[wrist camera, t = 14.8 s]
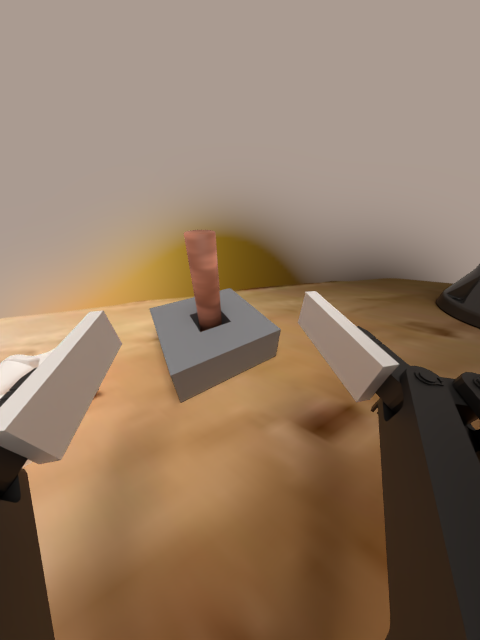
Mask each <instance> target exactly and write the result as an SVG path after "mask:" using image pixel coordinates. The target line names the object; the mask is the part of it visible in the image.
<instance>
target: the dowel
mask: <svg viewBox="0 0 480 640" xmlns="http://www.w3.org/2000/svg"><path fill="white" fill-rule="evenodd" d="M184 237H185V243H186V249H187V255H188V260H189V266H190V272H191V278H192V284H193V290H194V296H195V302H196V308H197V314H198V319H199V325H200V331H201V332H202V331H205V330H208V329H211V328H214V327H217V326H220V325H222V318H221V305H220V291H219V277H218V264H217V249H216V237H215V232H214V231H211V230H193V231H187V232H184Z"/></svg>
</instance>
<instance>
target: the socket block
mask: <svg viewBox="0 0 480 640" xmlns="http://www.w3.org/2000/svg"><path fill="white" fill-rule="evenodd" d="M220 305H221V318H222V325H220V326H217V327H214V328H211V329H208V330H205V331H202V332H201V331H200V325H199V319H198V314H197V308H196V302H195V297H194V298H190V299H186V300H182V301H178V302H174V303H170V304H166V305H162V306H158V307H154V308H150V312H151V315H152V318H153V321H154V325H155V328H156V331H157V334H158V337H159V341H160V344H161V347H162V350H163V353H164V357H165V360H166V363H167V366H168V369H169V373H170V376H171V378H172V381H173V384H174V386H175V389H176V392H177V394H178V397H179V400H180V402H183V401H185V400H187V399H189V398H191V397H193V396H195V395H197V394H199V393H201V392H203V391H205V390H207V389H209V388H211V387H213V386H215V385H217V384H219V383H222V382H224V381H226V380H228V379H230V378H232V377H234V376H236V375H238V374H240V373H242V372H244V371H246V370H248V369H250V368H252V367H254V366H256V365H258V364H260V363H262V362H264V361H266V360H268V359H270V358H272V357H274V356H276V352H277V347H278V341H279V336H280V330H281V329H280V328H278V327H277V326H276V325H275V324H273V323H272V322H271V321H270V320H268V319H267V318H266V317H265V316H264V315H262V314H261V313H260V312H259V311H257V310H256V309H255V308H254V307H253V306H251V305H250V304H249V303H248V302H246V301H245V300H244V299H243V298H242V297H240V296H239V295H238V294H237V293H235V292H234V291H233V290H232V289H225V290H221V291H220Z"/></svg>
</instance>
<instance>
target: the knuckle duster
mask: <svg viewBox="0 0 480 640" xmlns="http://www.w3.org/2000/svg"><path fill="white" fill-rule="evenodd" d="M54 349H55V348H54ZM54 349H53V350H54ZM53 350H51V351H49V352H47V353H43V354H40V355H36V356H27V355H13V356H9V357H8V358H6V359H5V360H3V361H2V362H1V364H0V399H1V398H2V397H3V396H4V394H5V393H6V392H9V391H10V390H9V389H10V388H11V387H12V386H13V385H14V384H15V383H16V382H17V381H18V380H19V379H20V378H21V377H23V376H24V375H26V374H27V373H28V372H30V371H31V370H33V369H34V368H37V367H38V366H39V365H40V364H41V363H42V362H43V361H44V360H45V359H46V358H47V357H48V356H49V355H50V354H51V352H52V351H53ZM98 390H99V389H98ZM32 462H33V461H30V460H27V461H26V463H25V464H24V466H23V467H25V466H27V465H28V464H30V463H32ZM23 467H22V468H23Z"/></svg>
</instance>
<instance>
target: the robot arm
mask: <svg viewBox="0 0 480 640" xmlns="http://www.w3.org/2000/svg"><path fill="white" fill-rule="evenodd" d="M436 303H437V305H438V306H439V307H440V308H441V309H442V310H444V311H445V312H447V313H448V314H450V315H452V316H454V317H456V318H458V319H460V320H462V321H464V322H466V323H469V324H471V325H474V326H476V327H479V328H480V264H479V265H478V266H477V268H476V269H474V270H473V271H472V272H470V273H469V274H467V275H466V276H465V277H463V278H461V279H460V280H459V281H457V282H456V283H454V284H453V285H451V286H450V287H449V288H447V289H446V290H444V291H443V292H442V294H441V295H440V296H439V297H438V299H437V300H436ZM298 324H299V325H300V326H301V328H302V329H303V330H304V332H305V333H306V334H307V336H308V337H309V339H310V340H311V341H312V343H313V344H314V345H315V347H316V348H317V349H318V351H319V352H320V353H321V355H322V356H323V357H324V359H325V360H326V362H327V363H328V364H329V366H330V367H331V368H332V370H333V371H334V372H335V374H336V375H337V376H338V378H339V379H340V381H341V382H342V383H343V385H344V386H345V387H346V389H347V390H348V391H349V393H350V394H351V395H352V397H353V398H354V400H355V401H356V402H360V401H365V400H370V399H371V398H372V396H373V395H374V394H375V393H376V394H377V395H378V396H379V397H380V399H379V400H378V401H377V402H376V403H375V404H374V405H373V406H372V408H371V411H372V412H374V411H375V410H376V409H377V407H378V412H377V414H378V416H379V433H380V450H381V466H382V483H383V500H384V517H385V533H386V550H387V567H388V583H389V600H390V630H389V633H388V635H387V637H386V639H385V640H480V429H479V430H476V429H474V428H473V427H472V425H471V424H470V423H471V422H473V421H475V420H477V419H478V418H479V419H480V374H476V373H471V372H465V373H463V374H461V375H460V376H459V377H458V378H456V379H450V378H443V377H439V376H438V375H437V374H435V373H433V372H432V371H430V370H427V369H425V368H423V367H418V366H409V365H408V364H407V363H406V362H404V361H403V360H402V359H401V358H400V357H398V356H397V355H396V354H395V353H394V352H392V351H391V350H390V349H389V348H388V347H386V346H385V345H384V344H382V342H380V341H379V340H378V339H376V337H374V336H373V335H372V334H371V333H370V332H368V331H367V330H365V329H363V328H361V327H359V326H355V325H354V324H353V323H352V322H350V321H349V320H348V319H347V318H346V317H345V316H344V315H342V314H341V313H340V312H339V311H338V310H337V309H335V308H334V307H333V306H332V305H331V304H330V303H329V302H327V301H326V300H325V299H324V298H323V297H322V296H321V295H319V294H318V293H317V292H316V291H312V292H306V293H305V297H304V301H303V305H302V309H301V313H300V317H299V321H298ZM121 345H122V343H121V341H120V339H119V337H118V335H117V334H116V332H115V330H114V328H113V327H112V325H111V323H110V321H109V320H108V318H107V316H106V314H105V313H104V311H94V312H89V313H88V314H87V315H86V316H85V317H84V318H83V319H82V320H81V321H80V323H79V324H78V325H77V326H76V327H75V328H74V329H73V330H72V331H71V332H70V333H69V334H68V335H67V336H66V337H65V339H64V340H63V341H62V342H61V343H60V344H59V345H58V346H57V347H56V348H55V349H54V350H53V351H52V352H51V354H50V355H49V356H48V357H47V358H46V359H45V360H44V361H43V362H42V363H41V364H40V365H39V366H38V367H37V368H34V369H33V370H31V371H30V372H28V373H27V374H26V375H24V376H23V377H21V378H20V379H19V380H18V381H17V382H16V383H15V384H14V385H13V386H12V387H11V388H10V389H9V390H10V391H9V392H6V393H5V394H4V396H3V397H2V398H1V399H0V640H55V638H54V632H53V626H52V620H51V614H50V608H49V602H48V596H47V590H46V584H45V578H44V572H43V566H42V560H41V554H40V548H39V542H38V536H37V530H36V524H35V518H34V512H33V506H32V500H31V494H30V488H29V481H28V475H27V472H26V471H25V469H22V467H23V466H24V464H25V463H26V461H27V460H30V461H33V462H35V463H37V464H43V463H48V462H53V461H58V460H61V459H62V457H63V455H64V453H65V452H66V450H67V448H68V446H69V444H70V442H71V440H72V438H73V436H74V434H75V432H76V431H77V429H78V427H79V425H80V423H81V421H82V419H83V417H84V415H85V413H86V411H87V410H88V408H89V406H90V404H91V402H92V400H93V398H94V396H95V394H96V392H97V391H98V389H99V387H100V385H101V383H102V381H103V379H104V377H105V375H106V373H107V371H108V370H109V368H110V366H111V364H112V362H113V360H114V358H115V356H116V354H117V352H118V350H119V349H120V347H121Z"/></svg>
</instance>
